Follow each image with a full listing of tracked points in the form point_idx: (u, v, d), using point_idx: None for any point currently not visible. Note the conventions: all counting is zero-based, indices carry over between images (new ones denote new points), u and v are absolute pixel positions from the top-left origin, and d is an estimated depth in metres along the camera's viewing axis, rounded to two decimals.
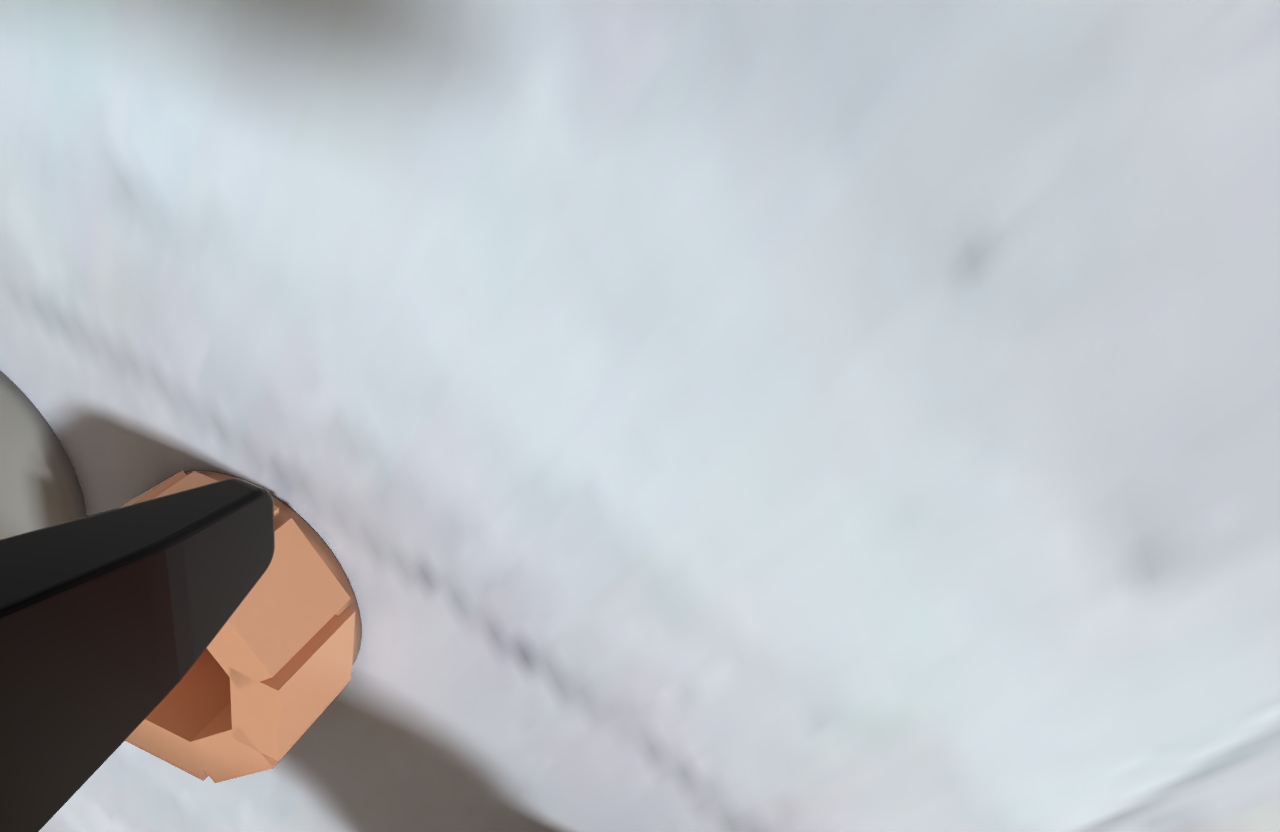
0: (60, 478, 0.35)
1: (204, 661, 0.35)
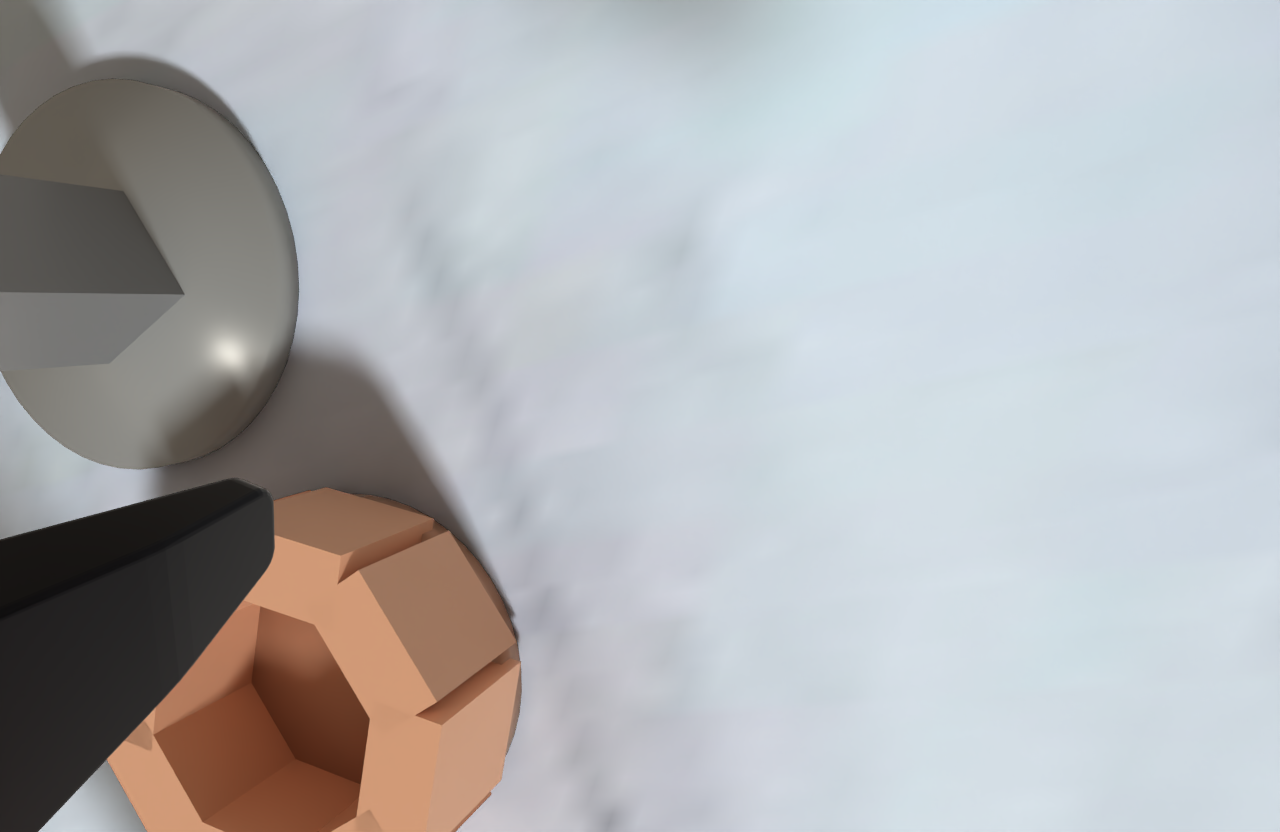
0: (256, 398, 0.27)
1: (246, 705, 0.27)
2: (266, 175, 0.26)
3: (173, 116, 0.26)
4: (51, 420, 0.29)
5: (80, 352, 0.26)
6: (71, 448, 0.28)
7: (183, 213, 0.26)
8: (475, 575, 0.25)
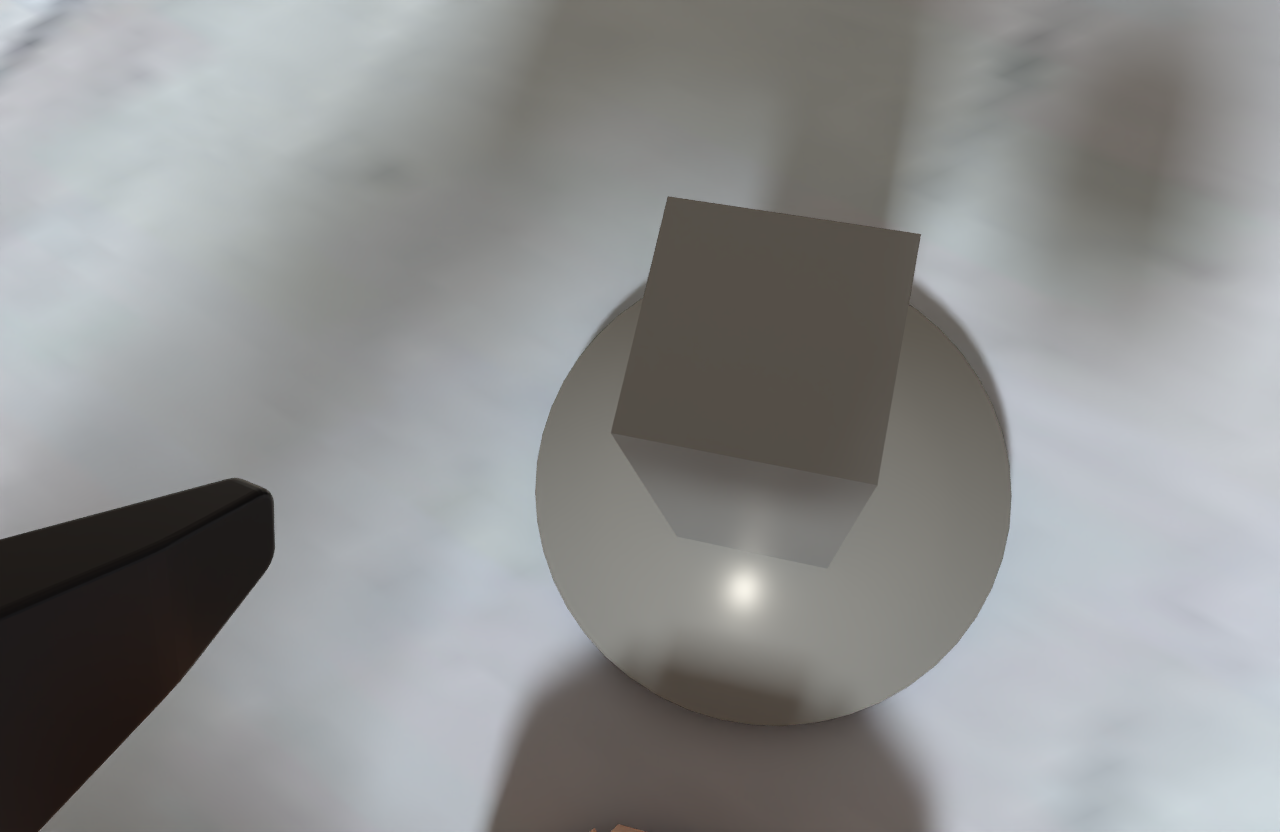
0: (797, 723, 0.21)
1: None
2: None
3: (973, 422, 0.22)
4: (554, 514, 0.23)
5: (703, 534, 0.21)
6: (549, 560, 0.22)
7: (899, 504, 0.22)
8: None
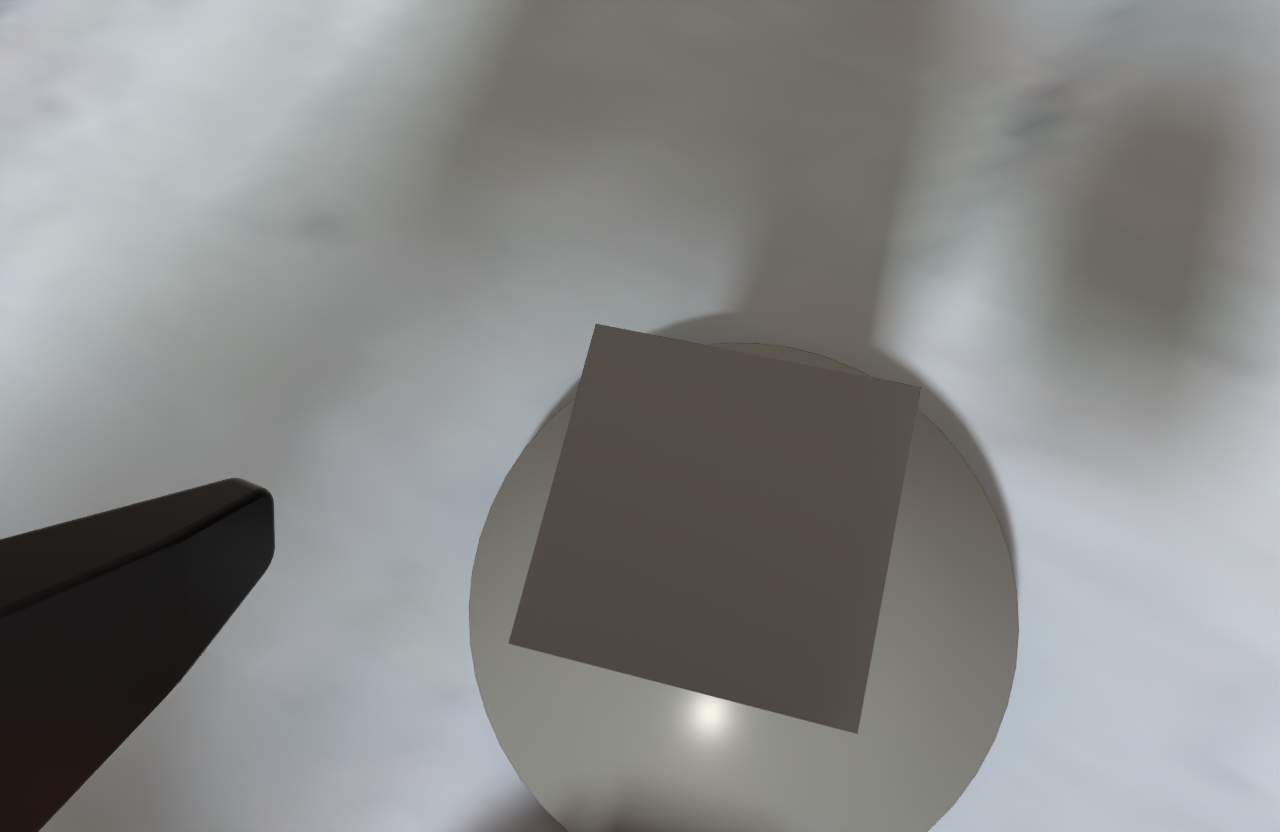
0: None
1: None
2: None
3: (976, 539, 0.19)
4: (490, 633, 0.20)
5: None
6: (482, 689, 0.19)
7: (888, 635, 0.19)
8: None
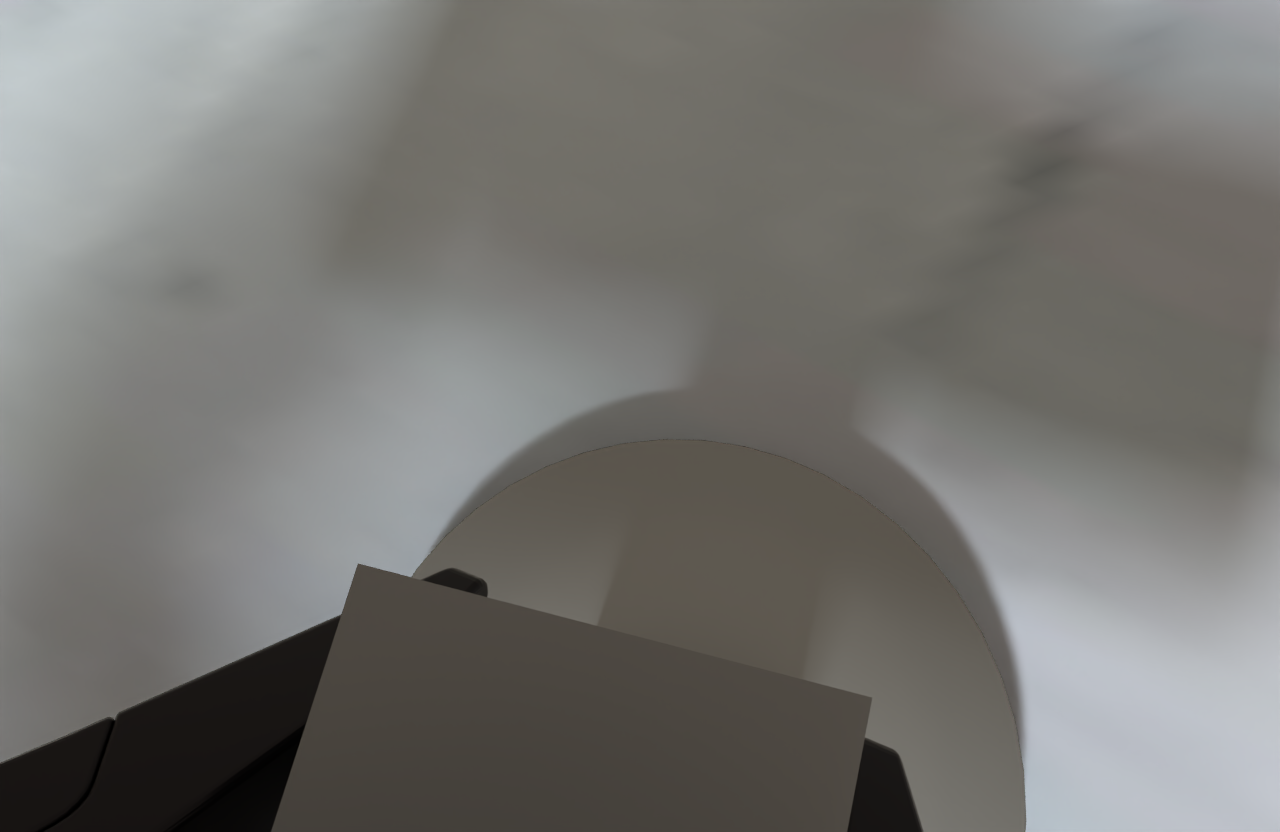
0: None
1: None
2: None
3: (972, 700, 0.15)
4: None
5: None
6: None
7: None
8: None
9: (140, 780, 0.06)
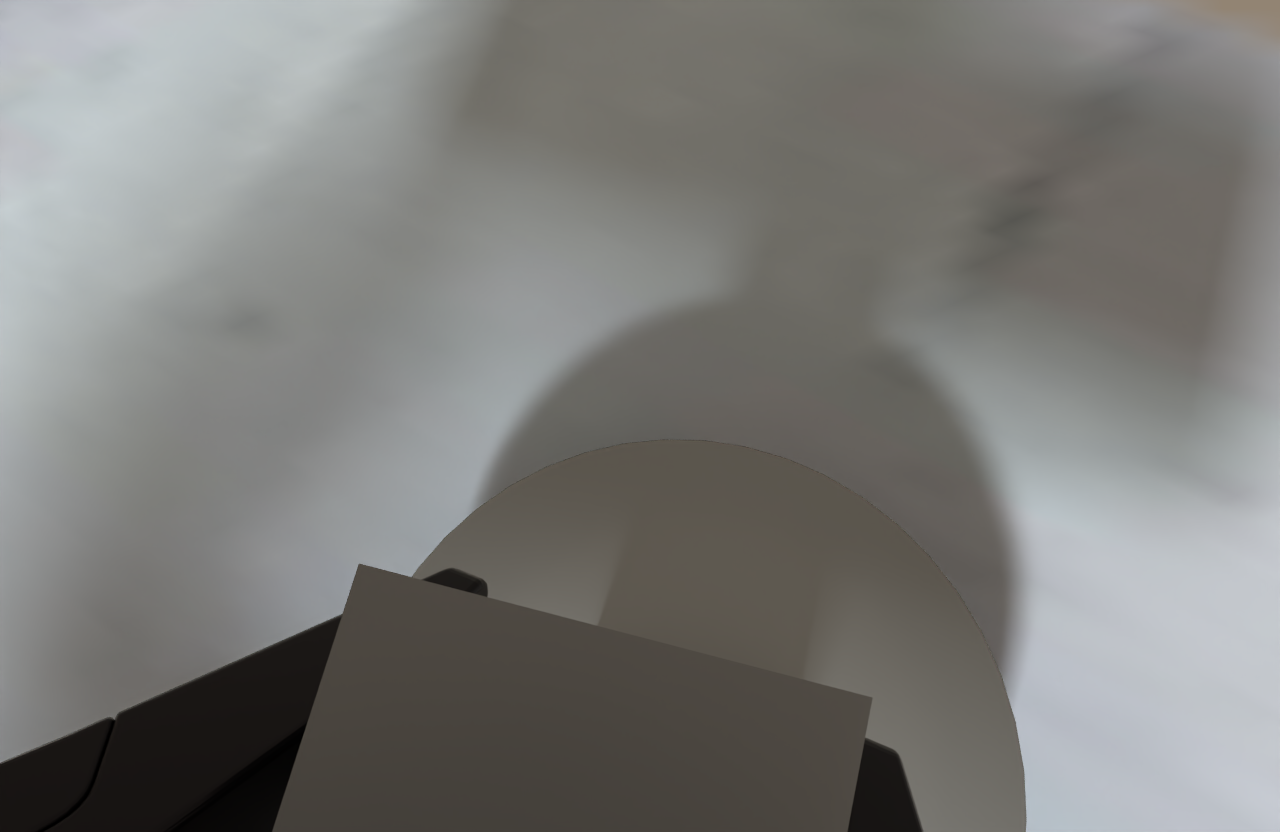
0: None
1: None
2: None
3: (973, 700, 0.15)
4: None
5: None
6: None
7: None
8: None
9: (140, 779, 0.06)
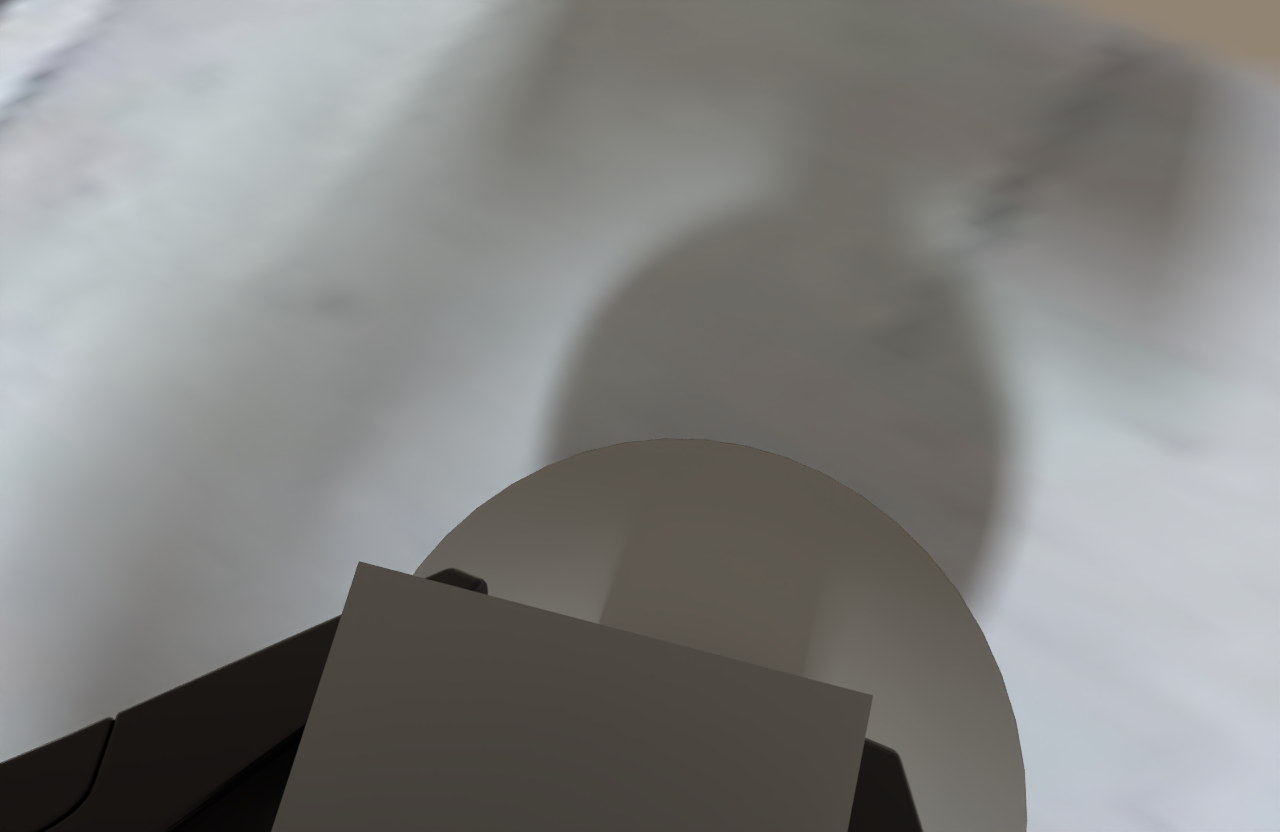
0: None
1: None
2: None
3: (973, 700, 0.15)
4: None
5: None
6: None
7: None
8: None
9: (139, 780, 0.06)
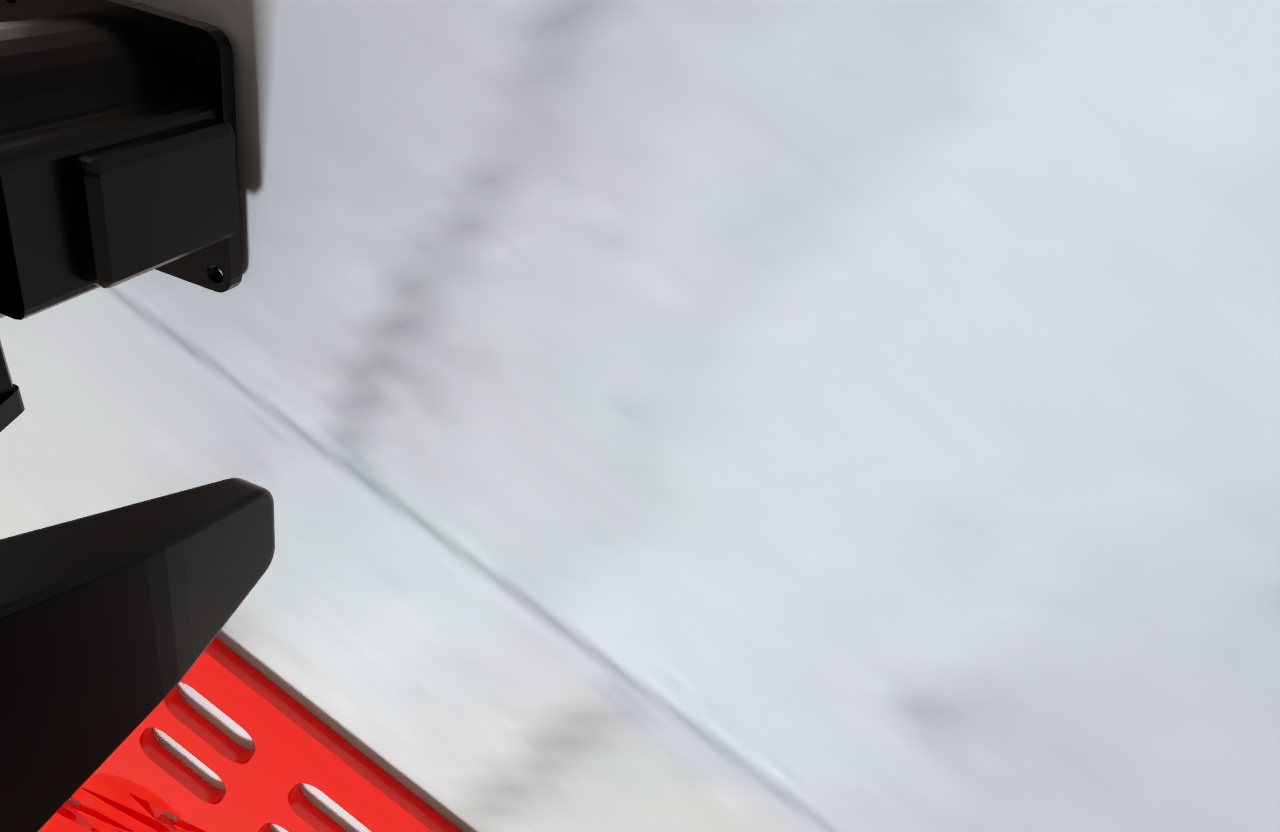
0: None
1: None
2: None
3: None
4: None
5: None
6: None
7: None
8: None
9: None
